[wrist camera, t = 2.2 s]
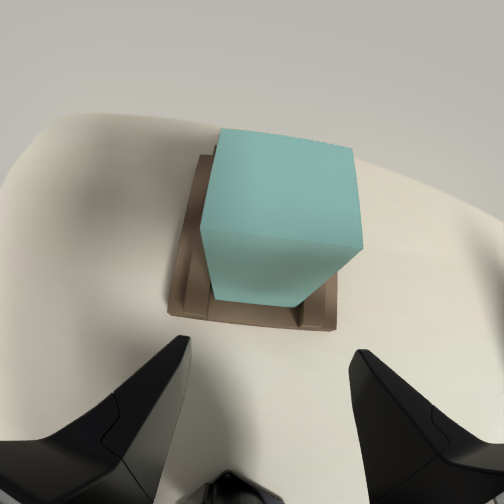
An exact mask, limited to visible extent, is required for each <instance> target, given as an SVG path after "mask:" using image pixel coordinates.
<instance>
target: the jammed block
mask: <svg viewBox="0 0 504 504" xmlns="http://www.w3.org/2000/svg"><path fill="white" fill-rule="evenodd" d="M200 232H201V237H202V242H203V246H204V251H205V256H206V261H207V265H208V270H209V275H210V279H211V284H212V288H213V292H214V297H215V300H223V301H232V302H241V303H250V304H259V305H269V306H280V307H291V308H295V307H296V306H297V305H299V304H300V303H301V302H302V301H303V300H305V299H306V298H307V297H308V296H309V295H311V294H312V293H313V292H314V291H315V290H317V289H318V288H319V287H320V286H321V285H322V284H324V283H325V282H326V281H327V280H328V279H329V278H331V277H332V276H333V275H334V274H335V273H336V272H337V271H339V270H340V269H341V268H342V267H343V266H344V265H345V264H347V263H348V262H349V261H350V260H351V259H352V258H353V257H354V256H355V255H357V254H358V253H359V252H360V251H361V250H362V249H363V238H362V225H361V214H360V204H359V195H358V186H357V178H356V171H355V164H354V157H353V151H352V149H351V148H347V147H343V146H338V145H333V144H328V143H323V142H318V141H313V140H307V139H301V138H295V137H289V136H282V135H276V134H268V133H261V132H252V131H243V130H233V129H222V128H221V132H220V136H219V140H218V145H217V149H216V153H215V158H214V162H213V166H212V171H211V176H210V180H209V185H208V190H207V195H206V199H205V204H204V209H203V215H202V220H201V225H200Z"/></svg>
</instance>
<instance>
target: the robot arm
mask: <svg viewBox="0 0 504 504" xmlns="http://www.w3.org/2000/svg"><path fill="white" fill-rule="evenodd" d="M190 361H191V338H190V337H189V336H182V335H178V336H176V337H175V338H174V339H173V340H172V341H171V342H170V343H169V344H167V345H166V346H165V347H164V348H163V349H162V350H161V351H159V352H158V353H157V354H156V355H155V356H154V357H153V358H151V359H150V360H149V361H148V362H147V363H146V364H145V365H143V366H142V367H141V368H140V369H139V370H138V371H137V372H135V373H134V374H133V375H132V376H131V377H130V378H128V379H127V380H126V381H125V382H124V383H123V384H122V385H120V386H119V387H118V388H117V389H116V390H115V391H114V393H111V394H110V395H109V396H107V397H106V398H105V399H104V400H103V401H101V402H100V403H99V404H98V405H96V406H95V407H94V408H92V409H91V410H90V411H88V412H87V413H85V414H84V415H82V416H81V417H79V418H78V419H76V420H75V421H73V422H72V423H70V424H68V425H67V426H65V427H64V428H62V429H61V430H59V431H57V432H56V433H54V434H52V435H50V436H48V437H46V438H43V439H39V440H26V441H0V504H153V502H154V499H155V495H156V492H157V488H158V485H159V481H160V478H161V474H162V471H163V467H164V464H165V460H166V457H167V454H168V450H169V447H170V443H171V440H172V437H173V433H174V430H175V427H176V423H177V420H178V417H179V414H180V410H181V407H182V404H183V400H184V395H185V390H186V384H187V378H188V372H189V366H190ZM348 372H349V381H350V390H351V400H352V408H353V413H354V418H355V423H356V427H357V432H358V437H359V442H360V448H361V453H362V459H363V464H364V470H365V476H366V482H367V488H368V495H369V502H370V504H504V444H492V443H487V442H484V441H482V440H480V439H478V438H477V437H475V436H474V435H473V434H471V433H470V432H468V431H467V430H465V429H464V428H462V427H461V426H460V425H458V424H457V423H455V422H454V421H453V420H451V419H450V418H449V417H447V416H446V415H445V414H444V413H442V412H441V411H440V410H439V409H438V408H436V407H435V406H434V405H432V403H430V402H429V401H428V400H427V399H426V398H425V397H423V396H422V395H421V394H420V393H419V392H418V391H416V390H415V389H414V388H413V387H412V386H410V385H409V384H408V383H407V382H406V381H405V380H403V379H402V378H401V377H400V376H399V375H398V374H396V373H395V372H394V371H393V370H392V369H391V368H389V367H388V366H387V365H386V364H385V363H383V362H382V361H381V360H380V359H379V358H378V357H376V356H375V355H374V354H373V353H372V352H371V351H369V350H367V349H358V350H357V351H356V352H355V354H354V356H353V358H352V361H351V363H350V365H349V370H348ZM227 474H229V475H231V477H229V478H227V477H226V476H225V475H227ZM186 504H285V503H284V502H283V501H281V500H279V499H277V498H275V497H273V496H272V495H270V494H268V493H266V492H264V491H263V490H261V489H259V488H258V487H256V486H254V485H253V484H251V483H249V482H248V481H246V480H245V479H243V478H241V477H240V476H238V475H237V474H235V473H234V472H232V471H230V470H226V471H224V472H222V473H221V474H220V475H219V476H218V477H217V478H216V479H215V480H214V481H212V482H211V483H205V484H203V485H202V486H201V487H200V488H199V489H198V490H196V491H195V492H194V493H193V494H192V495H190V496H189V497H188V498H187V501H186Z"/></svg>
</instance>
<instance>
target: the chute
mask: <svg viewBox="0 0 504 504" xmlns="http://www.w3.org/2000/svg"><path fill="white" fill-rule="evenodd" d="M216 149H217V145H215V148H214V152H213V155H201V154H200V157H199V161H198V165H197V169H196V172H195V176H194V180H193V185H192V189H191V193H190V197H189V201H188V206H187V210H186V214H185V219H184V224H183V228H182V233H181V238H180V243H179V248H178V253H177V258H176V263H175V268H174V274H173V279H172V285H171V291H170V297H169V303H168V309H167V313H169V314H170V315H172V316H179V317H185V318H192V319H199V320H207V321H215V322H223V323H231V324H240V325H250V326H260V327H271V328H283V329H296V330H311V331H333V330H336V325H337V272H336V273H335V274H334V275H333V276H332V277H331V278H329V279H328V280H327V281H326V282H325V283H324V284H322V285H321V286H320V287H319V288H318V289H317V290H315V291H314V292H313V293H312V294H311V295H309V296H308V297H307V298H306V299H305V300H303V301H302V302H301V303H300V304H299V305H297V306H296V307H295V308H291V307H280V306H269V305H259V304H250V303H241V302H232V301H223V300H215V297H214V292H213V288H212V284H211V279H210V275H209V270H208V265H207V261H206V256H205V251H204V246H203V242H202V237H201V232H200V225H201V220H202V215H203V209H204V204H205V199H206V195H207V190H208V185H209V180H210V176H211V171H212V166H213V162H214V158H215V153H216Z"/></svg>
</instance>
